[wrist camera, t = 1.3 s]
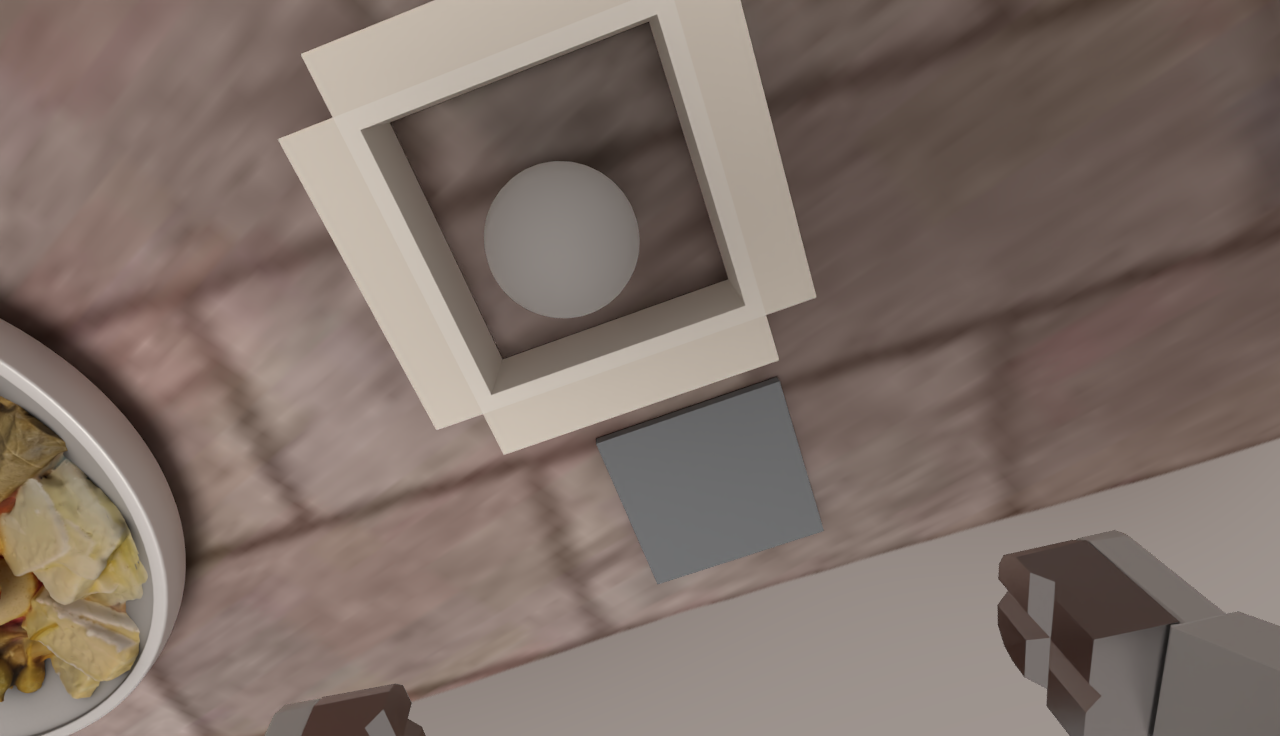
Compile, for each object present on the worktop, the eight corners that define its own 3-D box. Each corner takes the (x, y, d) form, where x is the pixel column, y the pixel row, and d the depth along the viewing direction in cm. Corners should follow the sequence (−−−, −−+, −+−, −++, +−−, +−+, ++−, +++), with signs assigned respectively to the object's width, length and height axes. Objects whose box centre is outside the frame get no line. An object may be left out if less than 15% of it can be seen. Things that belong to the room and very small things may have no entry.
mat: (777, 376, 39) (779, 381, 38) (820, 524, 43) (823, 530, 43) (596, 438, 40) (596, 443, 39) (656, 577, 44) (657, 584, 44)
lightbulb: (654, 200, 35) (679, 253, 25) (576, 288, 36) (570, 371, 26) (560, 114, 33) (546, 133, 23) (482, 211, 34) (436, 269, 24)
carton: (695, -87, 30) (711, -112, 26) (802, 313, 38) (828, 343, 33) (289, 76, 31) (243, 76, 27) (472, 428, 39) (458, 470, 35)
